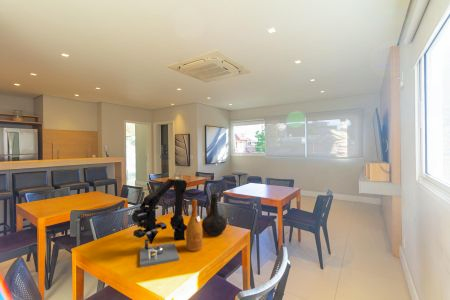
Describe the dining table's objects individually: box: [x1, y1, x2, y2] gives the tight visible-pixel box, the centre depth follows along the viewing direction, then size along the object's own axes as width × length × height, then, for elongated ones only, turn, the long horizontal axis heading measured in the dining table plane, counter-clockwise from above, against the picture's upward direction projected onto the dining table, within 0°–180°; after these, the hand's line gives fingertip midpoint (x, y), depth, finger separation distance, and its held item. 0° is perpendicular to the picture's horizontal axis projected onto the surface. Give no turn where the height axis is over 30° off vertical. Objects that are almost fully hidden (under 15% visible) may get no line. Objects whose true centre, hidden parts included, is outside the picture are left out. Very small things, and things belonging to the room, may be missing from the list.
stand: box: [139, 242, 180, 268], centre depth 128 cm, size 20×20×7 cm
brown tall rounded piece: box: [185, 199, 203, 252], centre depth 136 cm, size 10×10×30 cm
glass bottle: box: [201, 193, 228, 236], centre depth 161 cm, size 18×18×28 cm
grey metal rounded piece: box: [144, 238, 163, 257], centre depth 127 cm, size 9×11×6 cm
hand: (150, 243), depth 132 cm, fingers closed
